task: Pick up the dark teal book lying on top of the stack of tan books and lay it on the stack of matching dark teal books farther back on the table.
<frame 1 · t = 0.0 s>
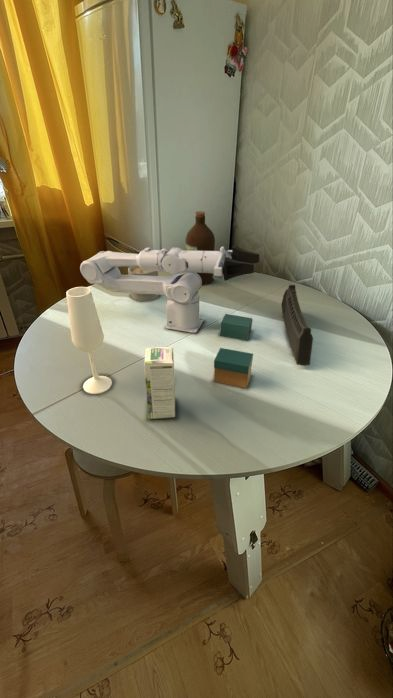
hand: (256, 263, 90), 22 cm above the table, tool horizontal, fingers open, 7 cm apart
tan book 1: (232, 379, 85), on the table, touching tan book 2
syrup box: (162, 410, 77), on the table
champagne flute: (97, 385, 84), on the table
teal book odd: (233, 364, 83), point 4 cm above the table, touching tan book 2
magazine: (292, 337, 101), on the table
coffee mug: (145, 293, 126), on the table
teal book 1: (235, 333, 103), on the table, touching teal book 2
tan book 2: (232, 371, 84), point 2 cm above the table, touching tan book 1, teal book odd
olive oil: (199, 280, 136), on the table
teal book 2: (236, 326, 102), point 2 cm above the table, touching teal book 1
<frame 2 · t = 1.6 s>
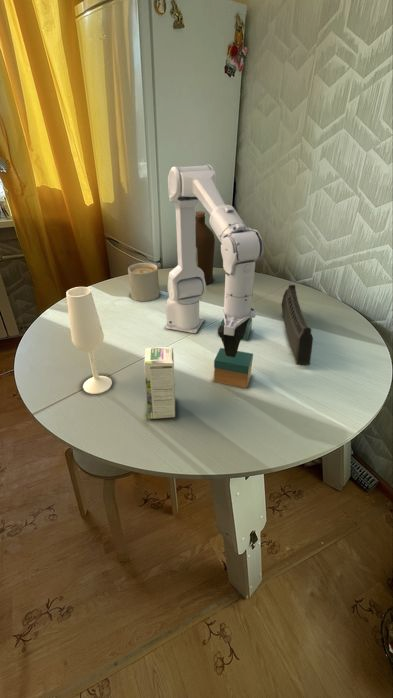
hand: (234, 346, 80), 9 cm above the table, tool pointing down, fingers open, 7 cm apart
nothing on the table moved.
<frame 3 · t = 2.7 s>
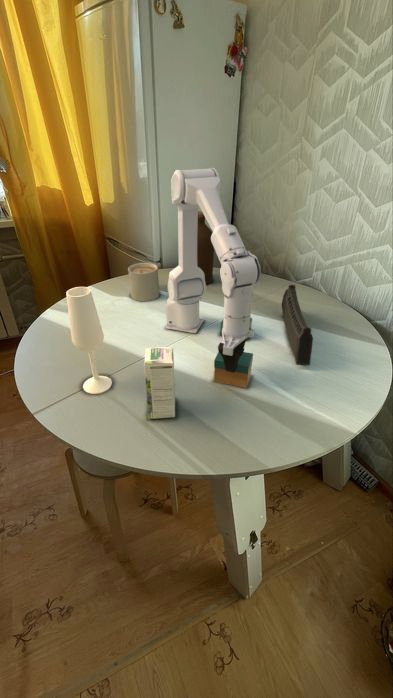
hand: (233, 363, 83), 5 cm above the table, tool pointing down, fingers closed on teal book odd, 5 cm apart
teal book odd: (233, 364, 83), point 4 cm above the table, touching gripper, tan book 2
everything else where it was.
when the fingers open (5 cm above the table, at t = 7.6 s): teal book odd stays where it is, resting on teal book 2.
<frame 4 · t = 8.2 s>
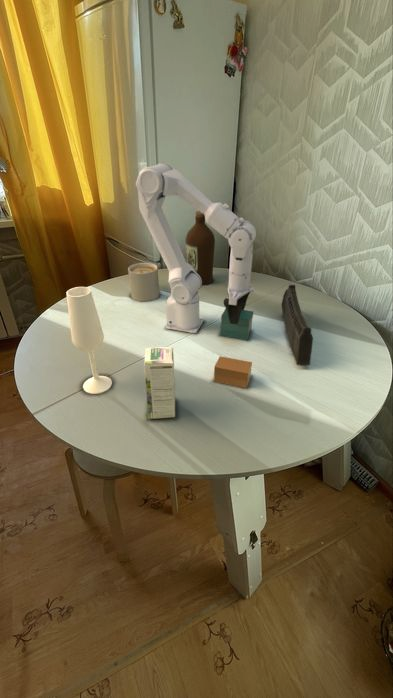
hand: (236, 316, 100), 5 cm above the table, tool pointing down, fingers open, 7 cm apart
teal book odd: (237, 320, 101), point 4 cm above the table, touching teal book 2
tan book 2: (232, 371, 84), point 2 cm above the table, touching tan book 1
teal book 2: (236, 326, 102), point 2 cm above the table, touching teal book 1, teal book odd
everything else where it was.
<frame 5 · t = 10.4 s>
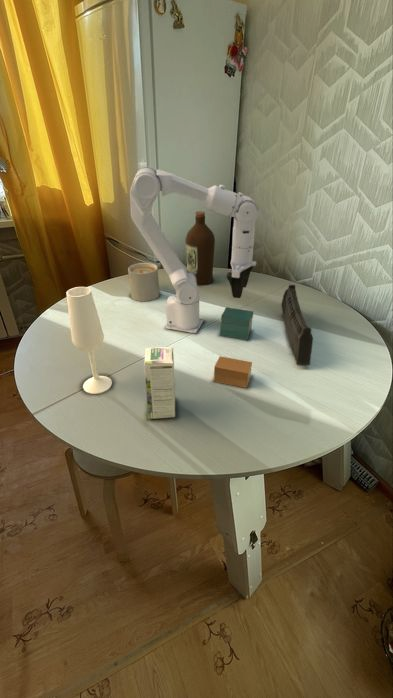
hand: (239, 291, 102), 10 cm above the table, tool pointing down, fingers open, 7 cm apart
nothing on the table moved.
at the end: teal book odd 0.1 cm off-centre on the teal book 1, point 4.4 cm above the teal book 1's base; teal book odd tilted 0°; tan book 2 moved 0.0 cm from its start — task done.
